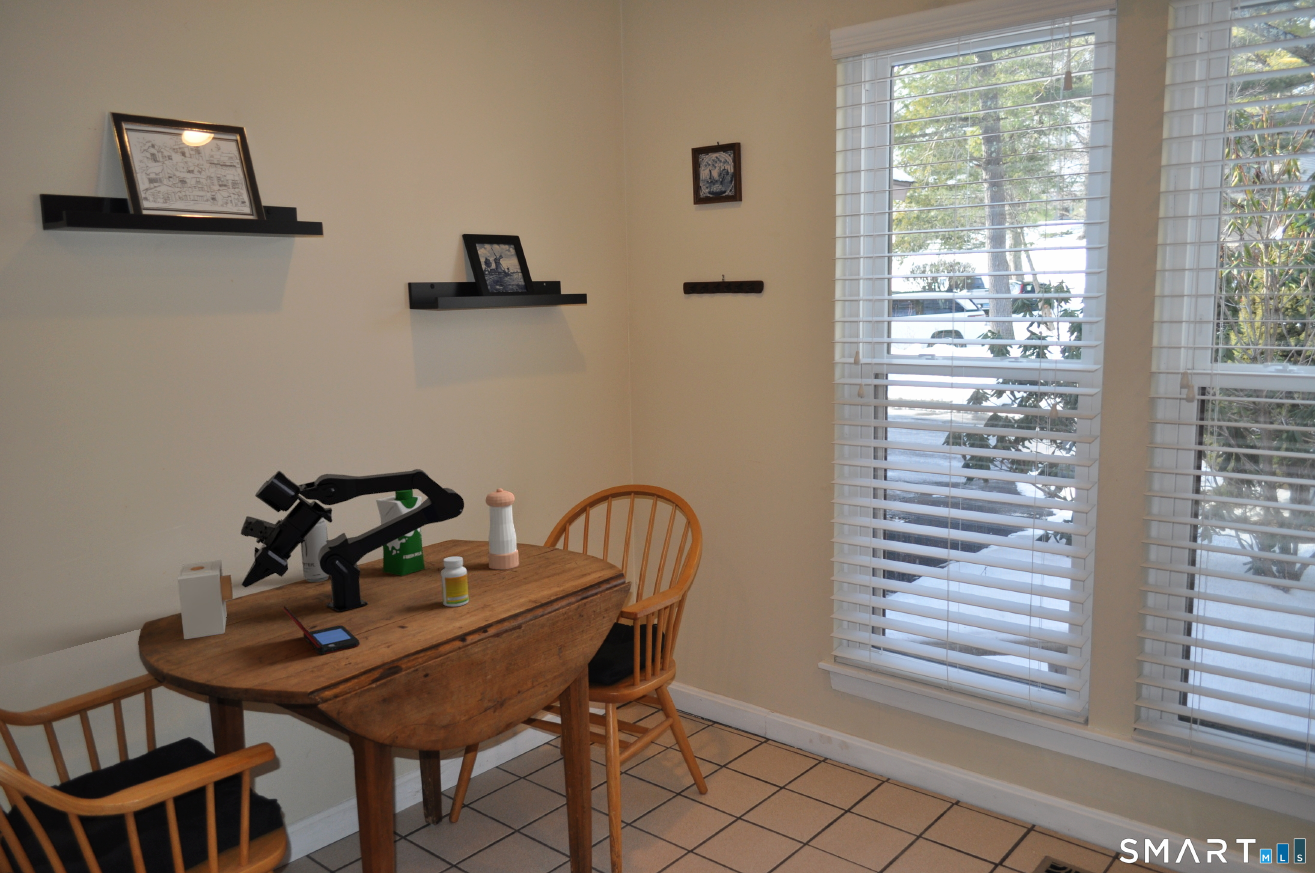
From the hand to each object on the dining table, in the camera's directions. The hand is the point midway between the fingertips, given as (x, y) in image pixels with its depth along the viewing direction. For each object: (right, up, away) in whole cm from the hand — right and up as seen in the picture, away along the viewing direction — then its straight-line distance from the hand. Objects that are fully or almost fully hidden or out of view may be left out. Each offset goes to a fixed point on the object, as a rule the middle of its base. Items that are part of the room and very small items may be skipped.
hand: (243, 585), depth 180 cm
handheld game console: (+21, -9, -13) cm, 27 cm away
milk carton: (+23, -2, +35) cm, 42 cm away
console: (-7, -8, -2) cm, 11 cm away
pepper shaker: (+47, -1, +36) cm, 59 cm away
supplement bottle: (+41, -5, +8) cm, 43 cm away
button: (-4, -3, -1) cm, 5 cm away
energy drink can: (+4, -4, +30) cm, 30 cm away
